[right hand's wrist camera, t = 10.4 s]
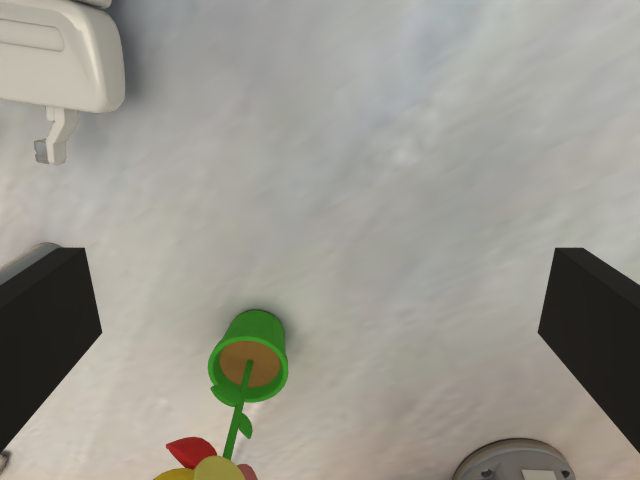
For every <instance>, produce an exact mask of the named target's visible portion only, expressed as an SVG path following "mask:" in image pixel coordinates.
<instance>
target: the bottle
mask: <svg viewBox="0 0 640 480" xmlns="http://www.w3.org/2000/svg"><path fill="white" fill-rule="evenodd" d="M56 248H62V247H60V246H58V245H56V244H52V243H41V244H38V245H36V246H34V247H33V248H31V249H29V250H28V251H26V252H24V253H23V254H21V255H19V256H18V257H16V258H14V259H13V260H11V261H9V262H7V263H6V264H4V265H2V266H1V267H0V285H1V284H3V283H4V282H6V281H8V280H9V279H11V278H12V277H14V276H15V275H17V274H18V273H20V272H21V271H23V270H24V269H26V268H27V267H29V266H30V265H32V264H33V263H35V262H36V261H38V260H39V259H41V258H42V257H44V256H45V255H47V254H49V253H50V252H52V251H53V250H55V249H56Z"/></svg>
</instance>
